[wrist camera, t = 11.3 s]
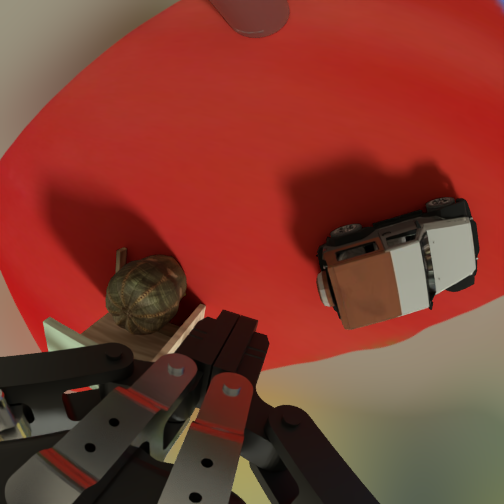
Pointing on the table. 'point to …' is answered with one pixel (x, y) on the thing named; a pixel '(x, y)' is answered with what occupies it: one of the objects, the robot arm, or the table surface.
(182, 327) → the shelter
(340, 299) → the toy car
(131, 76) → the table surface
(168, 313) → the shell
